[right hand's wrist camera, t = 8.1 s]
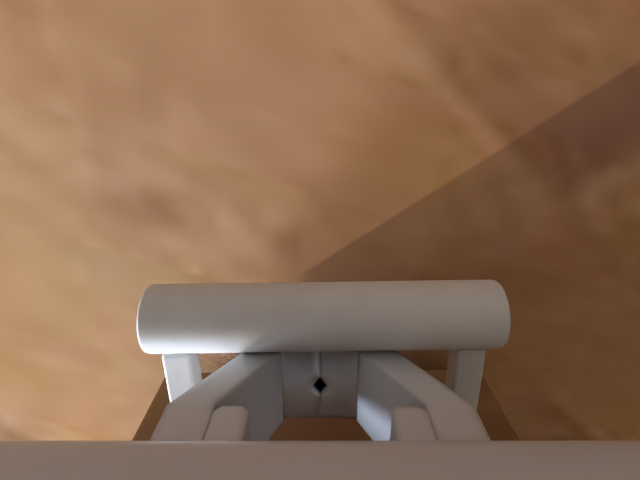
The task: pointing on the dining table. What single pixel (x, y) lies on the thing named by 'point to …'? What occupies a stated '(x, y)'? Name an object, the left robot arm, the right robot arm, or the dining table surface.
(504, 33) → the dining table surface
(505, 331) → the drawer
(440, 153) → the dining table surface
